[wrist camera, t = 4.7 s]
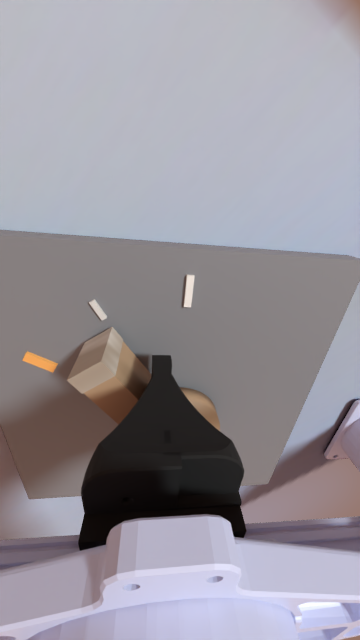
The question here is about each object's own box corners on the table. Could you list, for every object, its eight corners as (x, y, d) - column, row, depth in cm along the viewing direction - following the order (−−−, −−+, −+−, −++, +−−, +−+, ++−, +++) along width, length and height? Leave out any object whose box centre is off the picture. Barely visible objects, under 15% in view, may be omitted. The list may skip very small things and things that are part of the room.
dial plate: (348, 255, 14) (371, 262, 13) (261, 468, 24) (268, 486, 23) (-49, 226, 12) (-79, 230, 10) (36, 480, 22) (27, 501, 20)
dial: (228, 424, 18) (243, 467, 15) (162, 454, 19) (163, 501, 16) (143, 307, 13) (140, 339, 10) (57, 357, 14) (31, 399, 11)
